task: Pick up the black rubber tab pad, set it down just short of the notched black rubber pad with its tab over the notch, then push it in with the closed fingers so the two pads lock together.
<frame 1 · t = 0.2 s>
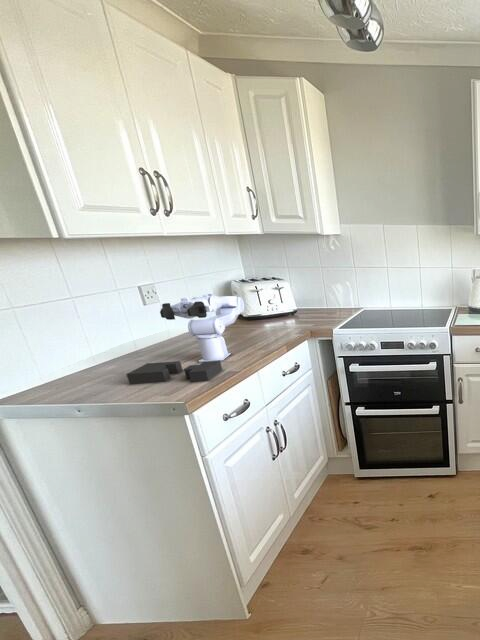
hand: (175, 313, 136), 21 cm above the counter, tool horizontal, fingers open, 7 cm apart
tab pad: (207, 375, 142), on the counter
notch pad: (157, 377, 140), on the counter
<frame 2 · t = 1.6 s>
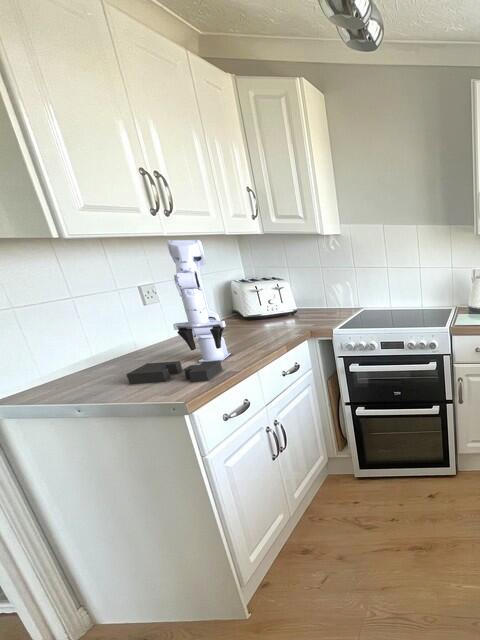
hand: (206, 348, 143), 8 cm above the counter, tool pointing down, fingers open, 7 cm apart
nothing on the counter moved.
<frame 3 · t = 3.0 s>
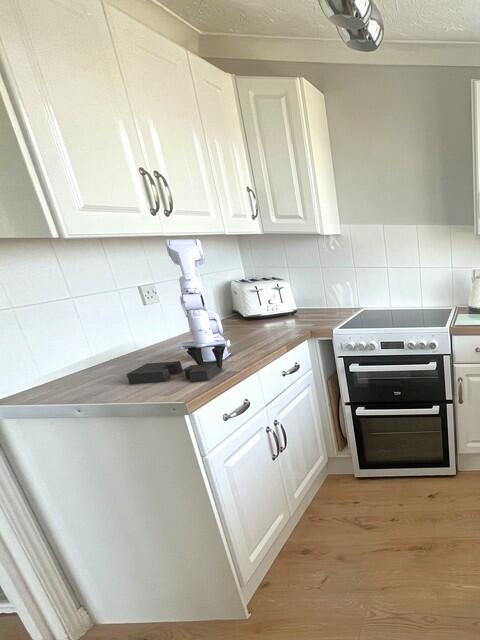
hand: (211, 367, 145), 2 cm above the counter, tool pointing down, fingers closed on tab pad, 5 cm apart
tab pad: (207, 375, 142), on the counter, touching gripper
everything else where it was.
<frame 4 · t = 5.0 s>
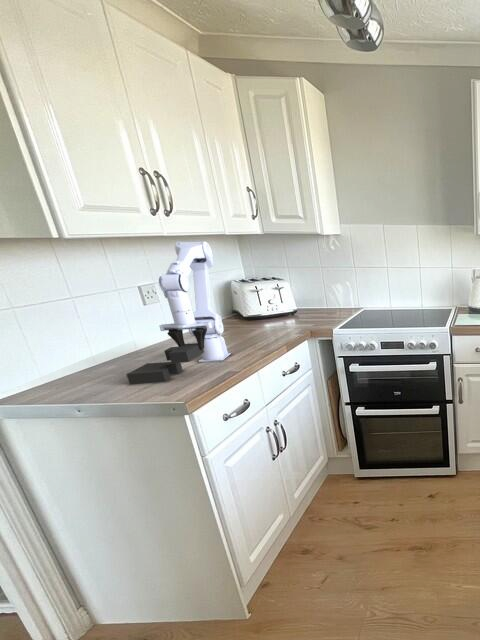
hand: (192, 349, 144), 8 cm above the counter, tool pointing down, fingers closed on tab pad, 5 cm apart
tab pad: (188, 357, 141), point 6 cm above the counter, touching gripper
everything else where it was.
when the fingers open (2 cm above the counter, at t = 6.9 s): tab pad stays where it is, on the counter.
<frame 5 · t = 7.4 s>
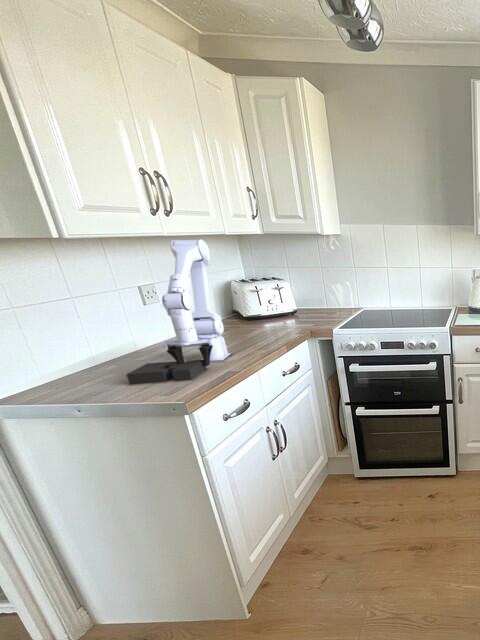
hand: (195, 366, 146), 2 cm above the counter, tool pointing down, fingers open, 7 cm apart
tab pad: (191, 374, 143), on the counter
everything else where it was.
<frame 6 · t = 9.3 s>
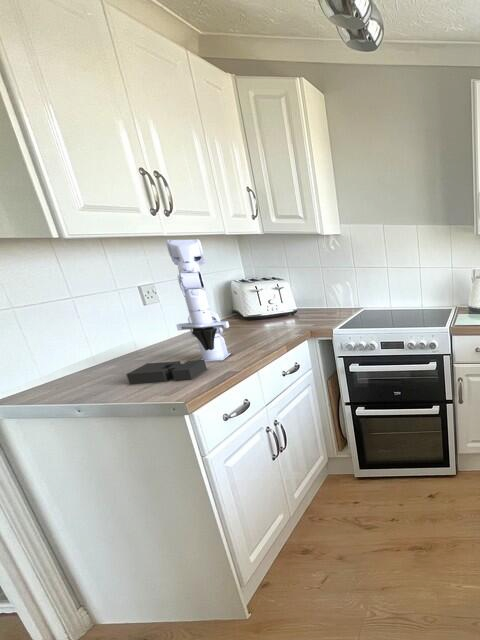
hand: (209, 349, 142), 8 cm above the counter, tool pointing down, fingers closed
nothing on the counter moved.
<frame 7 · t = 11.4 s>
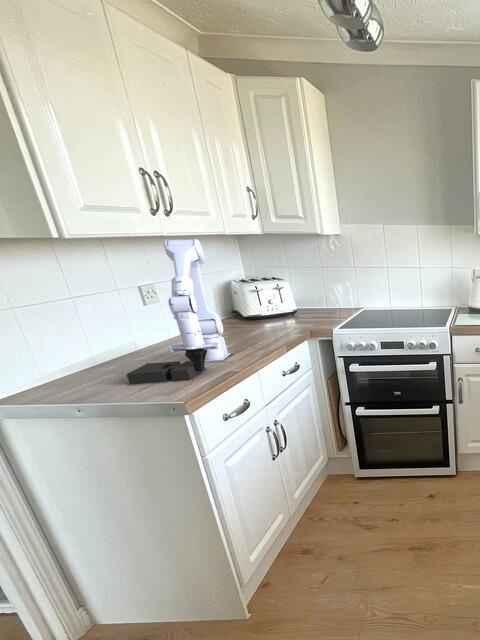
hand: (201, 370, 143), 1 cm above the counter, tool pointing down, fingers closed
tab pad: (189, 374, 143), on the counter, touching gripper
everything else where it was.
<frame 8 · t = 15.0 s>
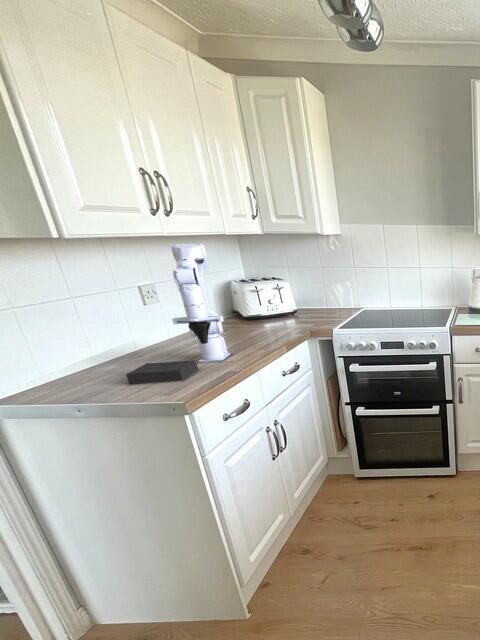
hand: (204, 343, 146), 9 cm above the counter, tool pointing down, fingers closed
tab pad: (182, 375, 142), on the counter, touching notch pad
notch pad: (157, 377, 140), on the counter, touching tab pad
at the end: tab pad 0.2 cm from the target spot on the counter beside the notch pad, on the counter; tab pad tilted 0°; the gripper is holding nothing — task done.
